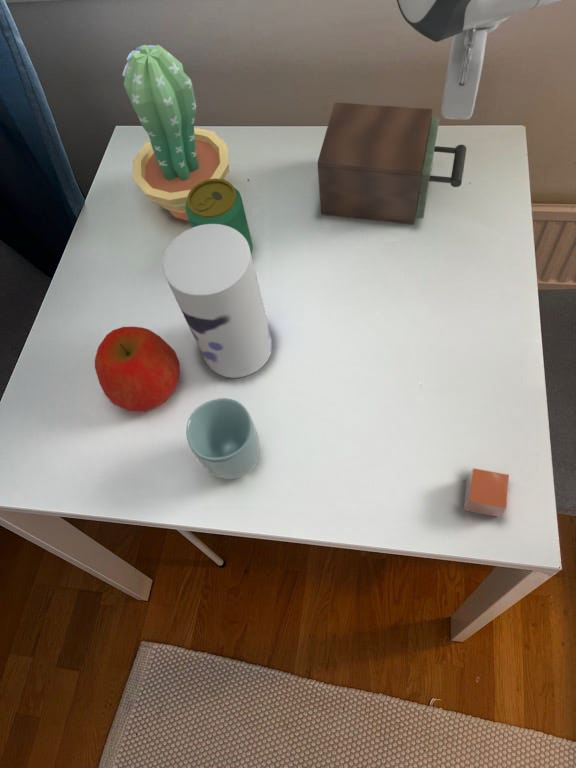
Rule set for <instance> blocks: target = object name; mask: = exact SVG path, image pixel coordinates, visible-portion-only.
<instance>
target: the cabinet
mask: <svg viewBox="0 0 576 768" xmlns="http://www.w3.org/2000/svg"><path fill="white" fill-rule="evenodd" d="M432 117H433V108H424V107H408V106H395V105H381V104H380V105H379V104H365V103H353V102H351V103H350V102H338V101H334V103H333V106H332V110H331V114H330V117H329V120H328V124H327V127H326V131H325V135H324V138H323V141H322V145H321V148H320V151H319V155H318V159H317V162H316V163H317V176H318V189H319V203H320V215H321V216H329V217H331V216H332V217H340V218H348V219H358V220H368V221H377V222H385V223H393V224H394V223H396V224H405V225H415V222H416V217H415V216H416V208H417V201H418V193H419V186H420V178H421V172H422V166H423V161H424V155H425V150H426V144H427V139H428V133H429V128H430V122H431V118H432Z"/></svg>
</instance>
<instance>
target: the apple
mask: <svg viewBox="0 0 576 768" xmlns="http://www.w3.org/2000/svg"><path fill="white" fill-rule="evenodd" d="M180 365H181V363H180V360H179V358H178V355H177V352H176V351H175V349H173V348H172V347H171V346H170V344H169V343H167V342H166V341H165V340H164V339H163V338H162V337H161V336H160V335H159V334H157V333H155V332H154V331H152V330H151V329H148V328H145V327H142V326H121V327H119V328H115V329H112V330H111V331H109V332H108V333H107V334H106V335H105V336H104V338H103V339H102V341H101V342H100V344H99V345H98V346H97V350H96V354H95V358H94V369H95V373H96V377H97V379H98V383H99V385H100V388H101V390H102V392H103V394H104V396H106V398H108V400H109V401H110V402H111V403H112V404H113V405H114V406H117V407H119V408H120V409H123V410H125V411H128V412H135V413H136V412H139V413H145V412H148V411H151V410H154V409H156V408H158V407H161V406H162V405H163V404H164V403H166V401H167V400H168V399H169V398H170V397H171V396H172V395H173V394H174V393H175V391H176V389H177V388H178V387H177V386H178V383H179V382H178V381H179V377H180V373H181V366H180Z"/></svg>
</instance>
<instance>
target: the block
mask: <svg viewBox="0 0 576 768" xmlns="http://www.w3.org/2000/svg"><path fill="white" fill-rule="evenodd" d="M509 478H510V475H509V474H506V473H500V472H496V471H490V470H485V469H480V468H472V470H471V472H470V473H469V474H468V477H467V478H466V485H465V486H466V487H465V495H464V503H463V504H464V505H463V511H467V512H471V513H476V514H482V515H486V516H491V517H496V518H499V517H500V516H501V515H502V514H503V513H504V511H505V510H506V509H507V507H508V505H507V504H508V491H509V481H510V479H509Z"/></svg>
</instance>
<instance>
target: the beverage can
mask: <svg viewBox="0 0 576 768" xmlns="http://www.w3.org/2000/svg"><path fill="white" fill-rule="evenodd" d="M185 209H186V213H187V216H188V219H189V220H188V222H189V224H190V227H191V228H193V227H196V226H199V225H205V224H221V225H225V226H229V227H231V228H233V229H235V230H237V231H238V232H240V233H241V234H242V235H243V236H244V238H245V239H246V240H247V242H248V245H249V248H250V252H251V254H252V253H253V250H254V247H253V246H254V245H253V240H252V235H251V232H250V228H249V223H248V220H247V215H246V214H247V213H246V210H245V206H244V202H243V197H242V195H241V193H240V191H239V189H237V188H236V187H235V186H234V185H233V184H232V183H231V182H229V181H227V180H225V179H224V180H223V179H208V180H205V181H202V182H200V183H198V184H197V185H195V186H194V187H193V188H192V189H191V191H190V192H189V194H188V197H187V202H186V207H185Z"/></svg>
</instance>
